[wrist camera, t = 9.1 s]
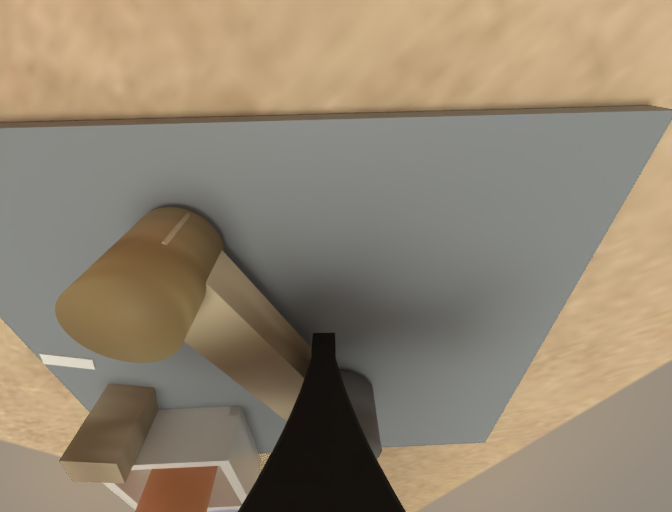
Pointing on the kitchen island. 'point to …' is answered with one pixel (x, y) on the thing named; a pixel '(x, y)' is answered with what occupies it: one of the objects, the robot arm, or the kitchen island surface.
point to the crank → (194, 313)
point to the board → (335, 242)
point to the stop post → (111, 435)
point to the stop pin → (178, 490)
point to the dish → (198, 453)
